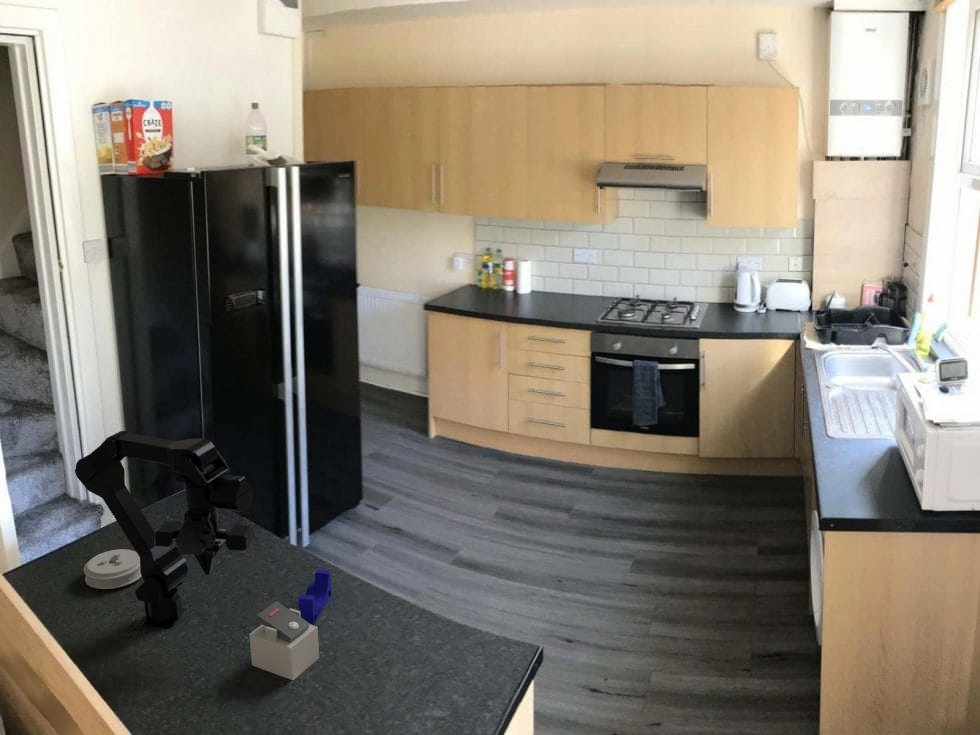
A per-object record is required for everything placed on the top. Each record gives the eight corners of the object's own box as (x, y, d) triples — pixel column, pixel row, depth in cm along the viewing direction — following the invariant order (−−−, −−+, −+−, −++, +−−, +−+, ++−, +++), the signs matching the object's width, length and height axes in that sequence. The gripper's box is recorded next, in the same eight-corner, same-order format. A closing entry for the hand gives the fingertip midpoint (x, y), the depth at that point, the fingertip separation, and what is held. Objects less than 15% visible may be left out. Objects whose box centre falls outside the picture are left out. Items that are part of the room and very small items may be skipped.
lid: (73, 582, 209) (70, 562, 208) (121, 558, 219) (118, 539, 218) (110, 598, 203) (107, 578, 201) (157, 573, 213) (155, 553, 212)
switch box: (252, 665, 180) (248, 622, 177) (279, 643, 187) (276, 602, 184) (293, 680, 175) (290, 637, 173) (319, 658, 182) (316, 616, 179)
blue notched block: (312, 592, 206) (310, 568, 204) (331, 594, 205) (330, 570, 203) (293, 623, 194) (291, 597, 192) (313, 625, 194) (312, 599, 192)
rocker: (256, 619, 178) (257, 614, 177) (275, 605, 182) (276, 600, 182) (289, 643, 175) (291, 637, 174) (308, 628, 180) (310, 623, 179)
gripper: (137, 519, 176) (145, 592, 181) (232, 524, 174) (239, 597, 179) (162, 494, 186) (170, 563, 191) (253, 498, 185) (258, 568, 189)
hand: (208, 573), depth 187 cm, fingers closed
